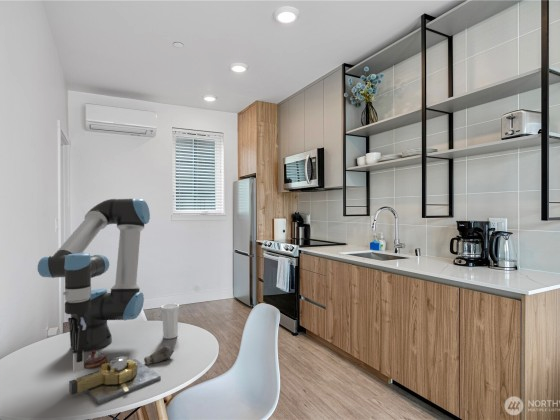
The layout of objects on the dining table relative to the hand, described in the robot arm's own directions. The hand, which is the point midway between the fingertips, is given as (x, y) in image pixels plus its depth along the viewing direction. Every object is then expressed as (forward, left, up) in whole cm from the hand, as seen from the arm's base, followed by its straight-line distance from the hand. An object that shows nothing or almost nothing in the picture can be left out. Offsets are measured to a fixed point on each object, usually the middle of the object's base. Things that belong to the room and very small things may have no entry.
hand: (78, 370), depth 112 cm
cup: (-16, +42, -5) cm, 45 cm away
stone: (+4, +27, -5) cm, 28 cm away
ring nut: (+7, +6, -3) cm, 10 cm away
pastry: (-13, +10, -5) cm, 17 cm away
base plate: (+7, +10, -5) cm, 13 cm away
